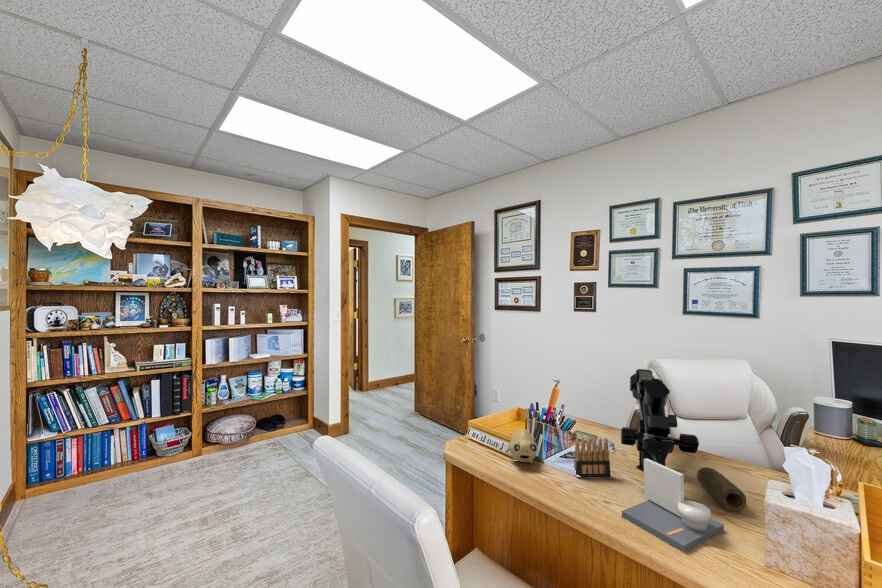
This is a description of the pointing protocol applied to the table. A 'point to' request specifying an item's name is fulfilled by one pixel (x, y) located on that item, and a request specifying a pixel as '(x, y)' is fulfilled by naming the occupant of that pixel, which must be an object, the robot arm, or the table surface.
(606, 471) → the ammunition clip
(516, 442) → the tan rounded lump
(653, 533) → the base board
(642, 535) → the table surface
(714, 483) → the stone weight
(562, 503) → the table surface
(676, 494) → the white piece
